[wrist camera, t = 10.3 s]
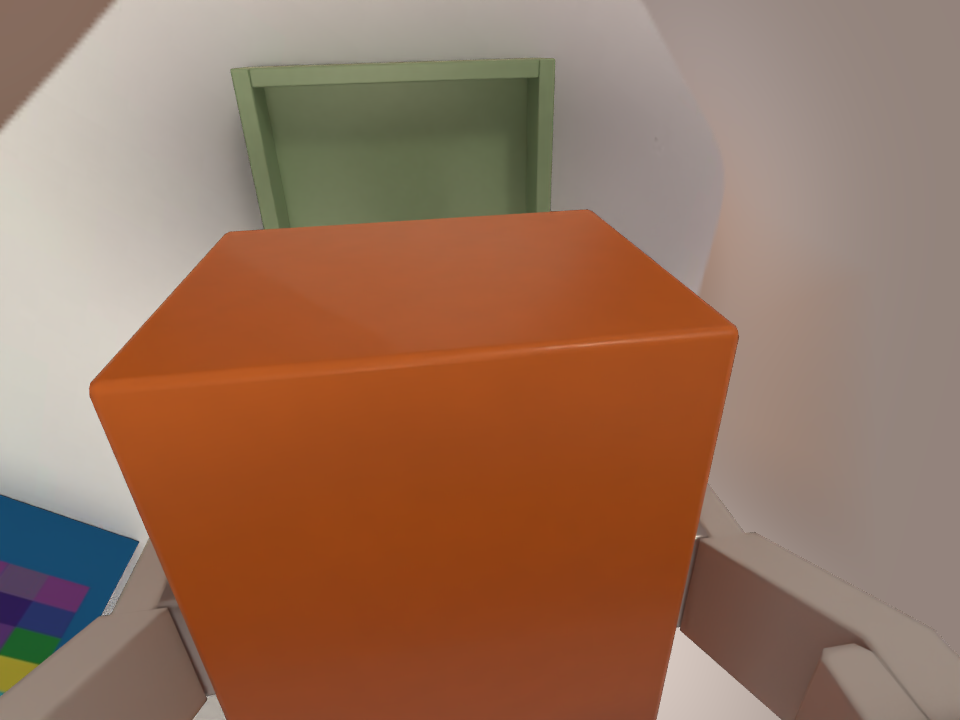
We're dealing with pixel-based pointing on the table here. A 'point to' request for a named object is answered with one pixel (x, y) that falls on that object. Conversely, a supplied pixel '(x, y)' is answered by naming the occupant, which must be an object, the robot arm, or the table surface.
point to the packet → (425, 465)
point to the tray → (398, 139)
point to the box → (50, 583)
